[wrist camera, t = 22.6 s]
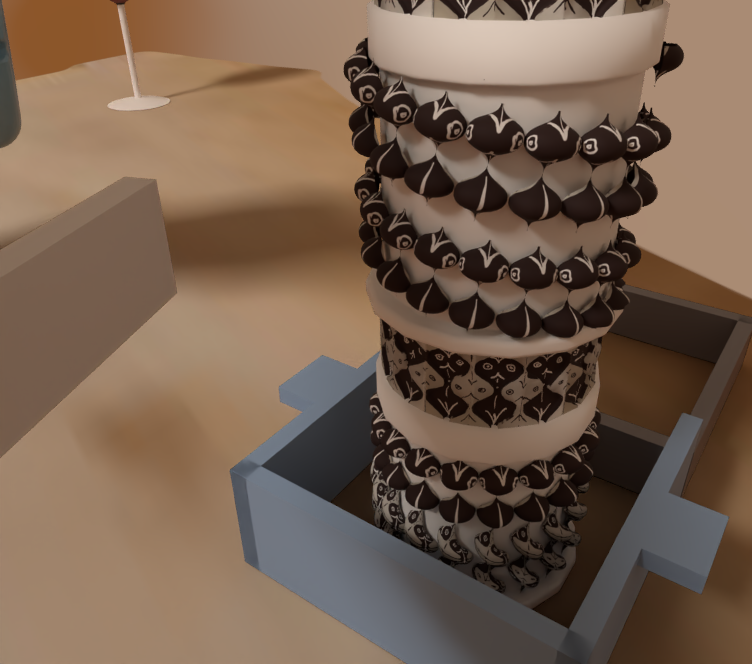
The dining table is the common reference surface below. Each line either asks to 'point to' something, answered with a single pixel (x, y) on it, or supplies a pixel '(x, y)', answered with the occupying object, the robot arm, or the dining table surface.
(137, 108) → the wineglass
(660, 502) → the blue tray
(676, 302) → the charcoal holder
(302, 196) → the dining table surface
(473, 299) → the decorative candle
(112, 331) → the robot arm
